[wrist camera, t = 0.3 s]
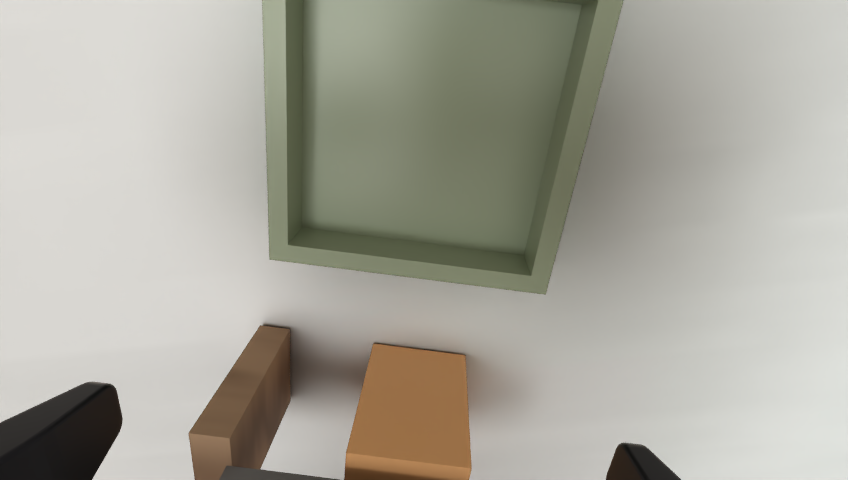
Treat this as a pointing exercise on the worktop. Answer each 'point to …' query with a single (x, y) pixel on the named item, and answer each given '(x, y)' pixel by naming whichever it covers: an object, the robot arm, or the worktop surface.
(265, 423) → the wood grain block
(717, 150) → the worktop surface
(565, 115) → the tray
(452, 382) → the orange brown block
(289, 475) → the dark gray block
